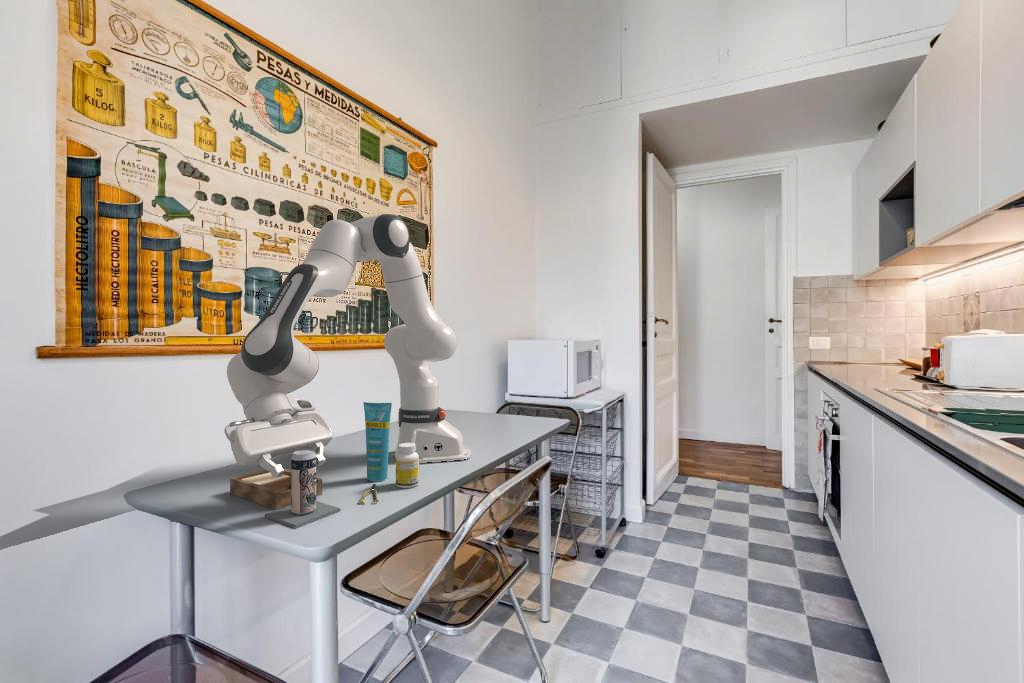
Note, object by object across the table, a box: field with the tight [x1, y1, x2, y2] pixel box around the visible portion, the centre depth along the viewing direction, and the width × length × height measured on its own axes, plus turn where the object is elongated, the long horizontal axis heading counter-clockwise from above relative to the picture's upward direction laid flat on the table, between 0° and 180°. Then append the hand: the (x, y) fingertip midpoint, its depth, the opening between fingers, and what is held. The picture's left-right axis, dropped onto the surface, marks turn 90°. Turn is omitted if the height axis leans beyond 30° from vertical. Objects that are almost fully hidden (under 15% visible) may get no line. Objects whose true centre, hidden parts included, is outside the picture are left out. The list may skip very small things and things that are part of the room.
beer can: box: [290, 450, 317, 515], centre depth 95 cm, size 5×5×12 cm
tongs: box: [358, 483, 380, 505], centre depth 107 cm, size 4×13×2 cm, turn 15°
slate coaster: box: [264, 500, 341, 529], centre depth 95 cm, size 10×10×1 cm
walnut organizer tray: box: [229, 467, 323, 510], centre depth 106 cm, size 17×11×4 cm, turn 59°
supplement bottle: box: [395, 443, 420, 489], centre depth 113 cm, size 5×5×10 cm
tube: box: [362, 401, 393, 483], centre depth 117 cm, size 7×5×19 cm, turn 86°
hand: (301, 469), depth 95 cm, fingers open, 8 cm apart
